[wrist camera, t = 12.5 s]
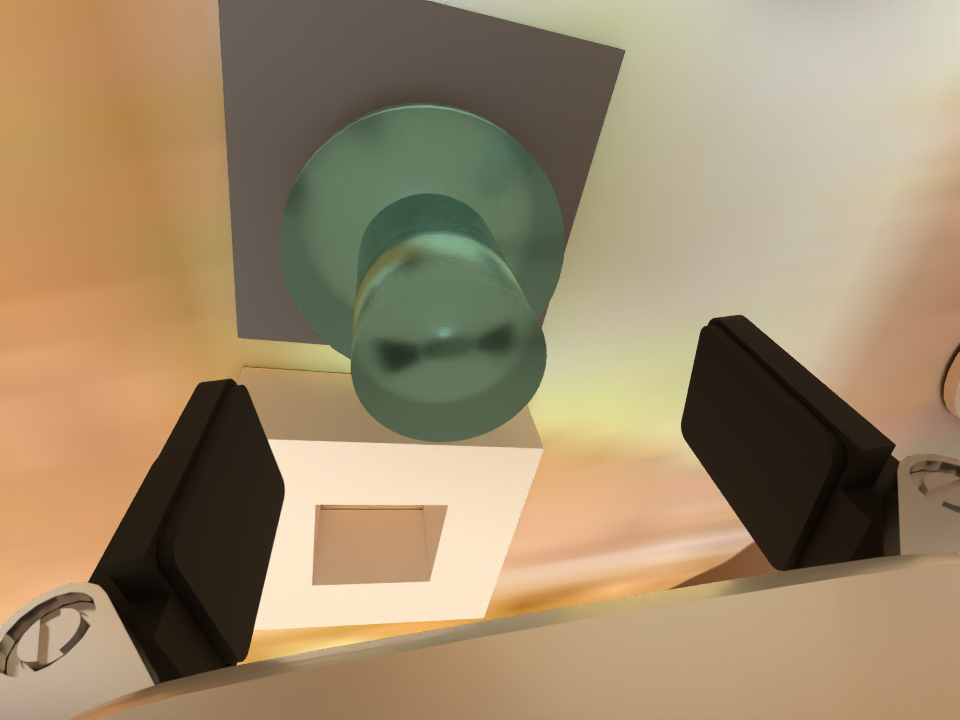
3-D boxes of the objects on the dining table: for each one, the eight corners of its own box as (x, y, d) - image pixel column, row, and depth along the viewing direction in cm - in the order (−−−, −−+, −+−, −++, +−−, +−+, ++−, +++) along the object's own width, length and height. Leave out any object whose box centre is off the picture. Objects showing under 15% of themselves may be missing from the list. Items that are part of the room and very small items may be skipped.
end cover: (547, 110, 20) (709, 200, 10) (498, 313, 24) (576, 505, 15) (303, 59, 18) (218, 114, 8) (300, 293, 22) (244, 505, 13)
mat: (619, 49, 20) (625, 50, 19) (528, 354, 27) (531, 360, 26) (219, -51, 16) (215, -53, 16) (240, 330, 23) (238, 337, 23)
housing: (519, 385, 28) (544, 448, 24) (471, 548, 35) (483, 617, 31) (242, 366, 24) (216, 437, 20) (253, 551, 32) (234, 630, 28)
